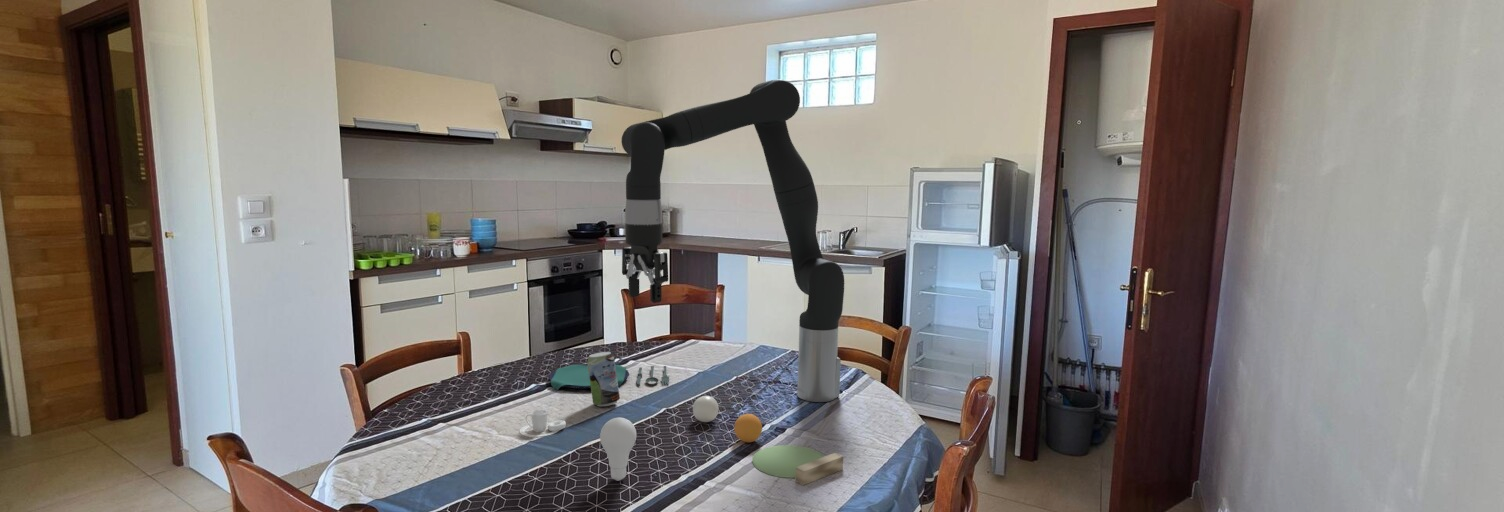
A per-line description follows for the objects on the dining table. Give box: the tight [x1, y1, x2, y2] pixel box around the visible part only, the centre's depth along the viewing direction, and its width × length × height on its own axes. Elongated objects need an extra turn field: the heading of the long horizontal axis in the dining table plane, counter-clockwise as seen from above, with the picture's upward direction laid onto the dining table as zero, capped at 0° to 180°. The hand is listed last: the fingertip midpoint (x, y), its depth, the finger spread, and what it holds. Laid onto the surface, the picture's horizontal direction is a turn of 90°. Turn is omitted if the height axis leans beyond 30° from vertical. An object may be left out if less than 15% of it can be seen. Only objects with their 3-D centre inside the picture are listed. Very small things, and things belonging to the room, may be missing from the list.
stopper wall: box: [795, 452, 844, 486], centre depth 120 cm, size 10×2×2 cm, turn 131°
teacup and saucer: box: [519, 409, 567, 438], centre depth 139 cm, size 9×8×4 cm
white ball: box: [692, 395, 720, 423], centre depth 145 cm, size 6×6×6 cm
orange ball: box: [733, 413, 763, 443], centre depth 135 cm, size 6×6×6 cm
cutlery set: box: [548, 363, 670, 391], centre depth 174 cm, size 20×30×2 cm, turn 98°
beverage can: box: [586, 351, 620, 408], centre depth 154 cm, size 6×7×12 cm
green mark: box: [752, 444, 826, 479], centre depth 126 cm, size 14×14×1 cm
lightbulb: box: [599, 416, 637, 482], centre depth 117 cm, size 6×6×11 cm
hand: (644, 299), depth 142 cm, fingers open, 8 cm apart
